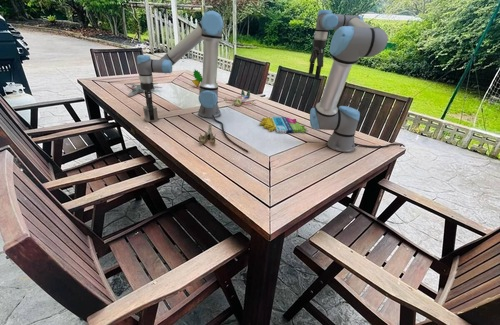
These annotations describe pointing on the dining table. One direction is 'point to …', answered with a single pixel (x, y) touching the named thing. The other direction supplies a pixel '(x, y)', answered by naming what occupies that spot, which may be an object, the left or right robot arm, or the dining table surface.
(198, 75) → the ornament
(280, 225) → the dining table surface
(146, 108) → the tin
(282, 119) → the sign
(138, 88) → the airplane
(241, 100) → the toy
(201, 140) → the jawbone
